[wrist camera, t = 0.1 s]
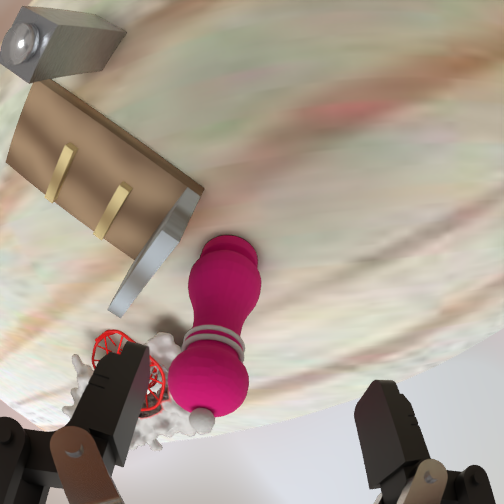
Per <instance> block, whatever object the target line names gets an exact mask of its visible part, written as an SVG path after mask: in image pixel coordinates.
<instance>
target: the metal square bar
mask: <svg viewBox="0 0 504 504" xmlns="http://www.w3.org/2000/svg"><path fill="white" fill-rule="evenodd" d="M126 33H127V32H125V31H124V30H122V29H120V28H118V27H117V26H115V25H113V24H111V23H110V22H108V21H106V20H104V19H102V18H101V17H99V16H97V15H94V14H89V13H83V12H76V11H69V10H62V9H53V8H43V7H30V6H22V7H21V9H20V11H19V13H18V15H17V17H16V19H15V21H14V23H13V25H12V27H11V28H10V29H9V30H8V32H7V33H6V35H5V37H4V39H3V42H2V46H1V51H0V64H2V65H3V66H5V67H6V68H8V69H9V70H10V71H12V72H13V73H15V74H16V75H17V76H19V77H20V78H22V79H23V80H25V81H26V82H27V83H33V82H38V81H42V80H47V79H52V78H58V77H63V76H69V75H75V74H82V73H89V72H96V71H102V70H103V68H104V67H105V65H106V63H107V62H108V60H109V59H110V57H111V55H112V54H113V52H114V51H115V49H116V48H117V46H118V45H119V43H120V42H121V40H122V39H123V37H124V36H125V35H126Z"/></svg>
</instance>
